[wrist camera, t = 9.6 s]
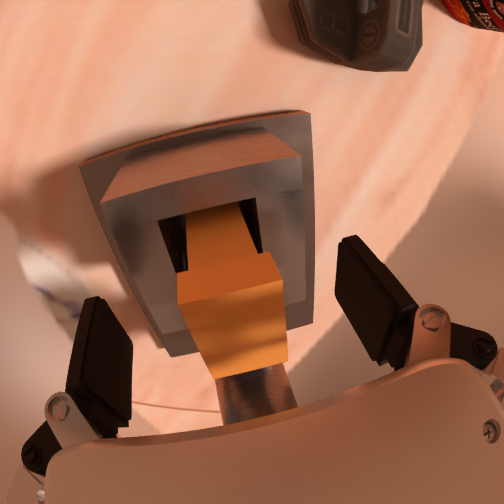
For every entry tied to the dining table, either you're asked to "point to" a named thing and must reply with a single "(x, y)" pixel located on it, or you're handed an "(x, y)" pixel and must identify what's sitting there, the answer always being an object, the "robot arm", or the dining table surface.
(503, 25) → the canned food
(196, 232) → the orange tapered block
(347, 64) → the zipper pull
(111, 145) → the dining table surface
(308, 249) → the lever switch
